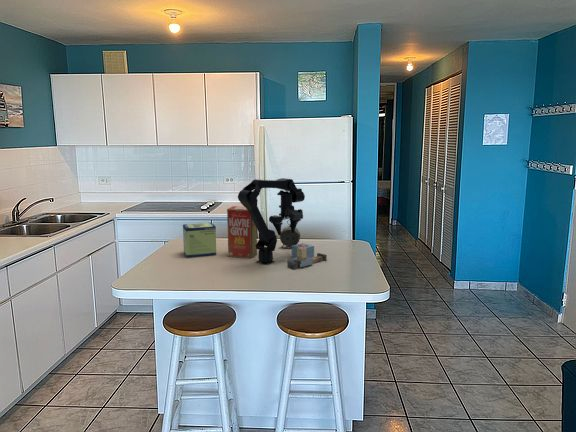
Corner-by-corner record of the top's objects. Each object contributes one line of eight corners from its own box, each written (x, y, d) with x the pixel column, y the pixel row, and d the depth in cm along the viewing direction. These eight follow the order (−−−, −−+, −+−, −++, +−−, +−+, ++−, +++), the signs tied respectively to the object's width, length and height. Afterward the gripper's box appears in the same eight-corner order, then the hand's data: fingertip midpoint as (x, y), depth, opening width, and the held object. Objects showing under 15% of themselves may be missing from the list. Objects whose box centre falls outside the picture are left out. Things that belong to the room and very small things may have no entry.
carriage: (300, 267, 217) (301, 251, 215) (290, 264, 222) (290, 248, 220) (312, 264, 222) (312, 248, 221) (302, 261, 227) (302, 245, 226)
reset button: (302, 256, 234) (303, 246, 233) (298, 254, 237) (298, 245, 236) (307, 254, 236) (307, 245, 235) (302, 253, 239) (303, 244, 238)
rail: (294, 269, 216) (294, 263, 215) (287, 267, 219) (287, 261, 219) (326, 260, 230) (326, 254, 230) (319, 258, 234) (319, 252, 233)
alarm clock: (300, 247, 257) (300, 218, 254) (299, 249, 252) (299, 220, 249) (280, 246, 258) (280, 218, 255) (279, 249, 253) (279, 219, 250)
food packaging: (227, 256, 237) (226, 208, 233) (233, 252, 246) (232, 205, 242) (252, 258, 234) (251, 209, 230) (257, 253, 243) (257, 206, 239)
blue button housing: (302, 260, 231) (303, 248, 230) (291, 257, 237) (291, 245, 236) (314, 257, 237) (314, 245, 235) (302, 254, 242) (303, 243, 241)
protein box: (217, 255, 240) (216, 225, 238) (186, 258, 235) (185, 228, 232) (212, 250, 250) (211, 222, 247) (183, 253, 244) (182, 224, 242)
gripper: (283, 207, 220) (283, 239, 223) (311, 203, 232) (310, 234, 235) (268, 204, 228) (268, 235, 231) (295, 201, 240) (295, 230, 243)
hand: (286, 234), depth 235 cm, fingers open, 9 cm apart
